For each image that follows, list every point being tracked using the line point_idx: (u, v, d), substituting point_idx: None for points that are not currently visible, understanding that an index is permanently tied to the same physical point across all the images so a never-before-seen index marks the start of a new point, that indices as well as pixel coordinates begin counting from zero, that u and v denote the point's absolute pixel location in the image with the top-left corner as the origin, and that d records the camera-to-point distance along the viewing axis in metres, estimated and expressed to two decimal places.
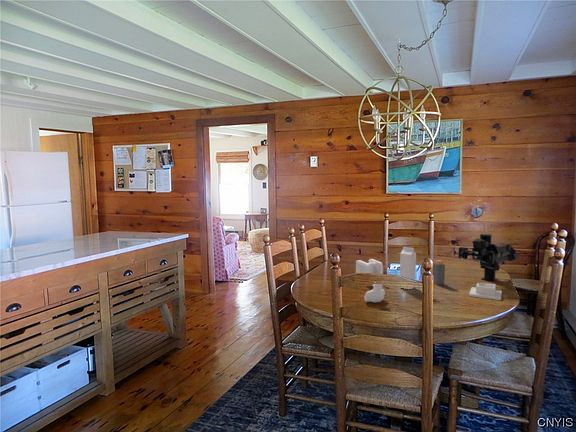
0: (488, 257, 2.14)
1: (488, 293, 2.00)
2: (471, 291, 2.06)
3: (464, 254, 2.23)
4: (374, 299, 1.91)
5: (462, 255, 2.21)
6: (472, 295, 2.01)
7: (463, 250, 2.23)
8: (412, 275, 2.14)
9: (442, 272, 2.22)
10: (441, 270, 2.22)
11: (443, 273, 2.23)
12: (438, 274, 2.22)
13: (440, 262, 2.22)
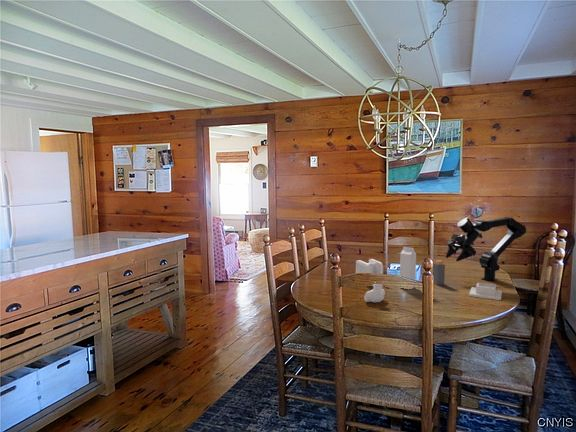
0: (467, 253, 2.19)
1: (488, 293, 2.00)
2: (471, 291, 2.06)
3: (452, 250, 2.31)
4: (374, 299, 1.91)
5: (449, 254, 2.30)
6: (472, 295, 2.01)
7: (449, 247, 2.31)
8: (412, 275, 2.14)
9: (442, 272, 2.22)
10: (441, 270, 2.22)
11: (443, 273, 2.23)
12: (438, 274, 2.22)
13: (440, 262, 2.22)
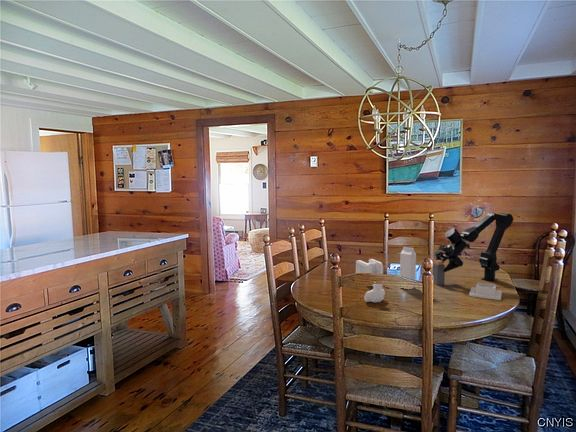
0: (454, 264, 2.18)
1: (488, 293, 2.00)
2: (471, 291, 2.06)
3: None
4: (374, 299, 1.91)
5: None
6: (472, 295, 2.01)
7: (437, 257, 2.30)
8: (412, 275, 2.14)
9: (442, 272, 2.22)
10: (441, 270, 2.22)
11: (443, 273, 2.23)
12: (438, 274, 2.22)
13: (440, 262, 2.22)
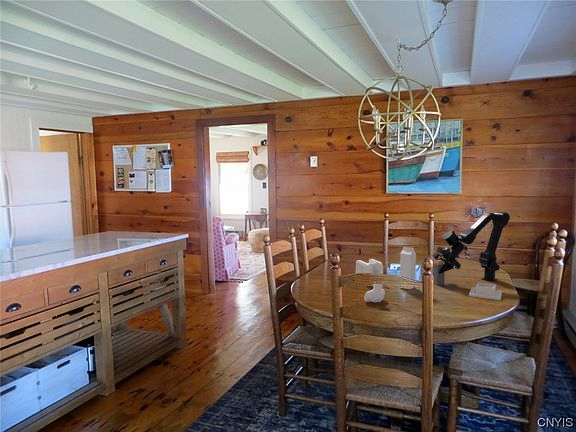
0: (449, 265, 2.20)
1: (488, 293, 2.00)
2: (471, 291, 2.06)
3: None
4: (374, 299, 1.91)
5: None
6: (472, 295, 2.01)
7: None
8: (412, 275, 2.14)
9: None
10: None
11: (443, 273, 2.23)
12: (438, 274, 2.22)
13: (440, 262, 2.22)
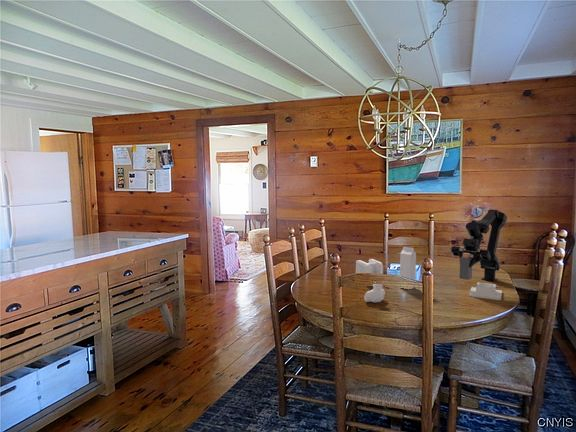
0: (479, 257, 2.07)
1: (488, 293, 2.00)
2: (471, 291, 2.06)
3: None
4: (374, 299, 1.91)
5: None
6: (472, 295, 2.01)
7: (460, 253, 2.12)
8: (412, 275, 2.14)
9: None
10: None
11: None
12: (468, 268, 2.06)
13: (469, 255, 2.08)
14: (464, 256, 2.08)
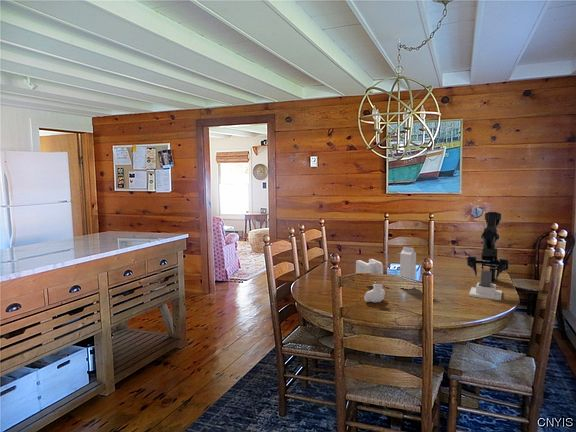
0: (504, 267, 2.03)
1: (488, 293, 2.00)
2: (471, 291, 2.06)
3: None
4: (374, 299, 1.91)
5: (476, 271, 2.07)
6: (472, 295, 2.01)
7: (474, 264, 2.07)
8: (412, 275, 2.14)
9: None
10: None
11: None
12: (490, 281, 2.02)
13: (489, 268, 2.03)
14: (485, 270, 2.03)
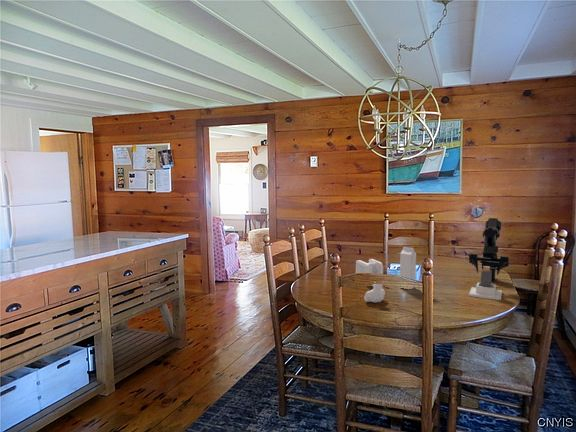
0: (504, 264, 2.10)
1: (488, 293, 2.00)
2: (471, 291, 2.06)
3: (477, 263, 2.16)
4: (374, 299, 1.91)
5: None
6: (472, 295, 2.01)
7: (476, 261, 2.15)
8: (412, 275, 2.14)
9: None
10: None
11: None
12: (490, 281, 2.02)
13: (489, 268, 2.03)
14: (485, 270, 2.03)
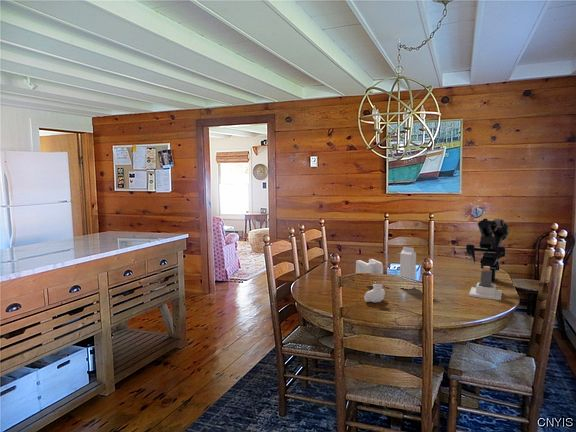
0: (501, 254, 2.13)
1: (488, 293, 2.00)
2: (471, 291, 2.06)
3: (474, 254, 2.19)
4: (374, 299, 1.91)
5: None
6: (472, 295, 2.01)
7: (473, 251, 2.18)
8: (412, 275, 2.14)
9: None
10: None
11: None
12: (490, 281, 2.02)
13: (489, 268, 2.03)
14: (485, 270, 2.03)
